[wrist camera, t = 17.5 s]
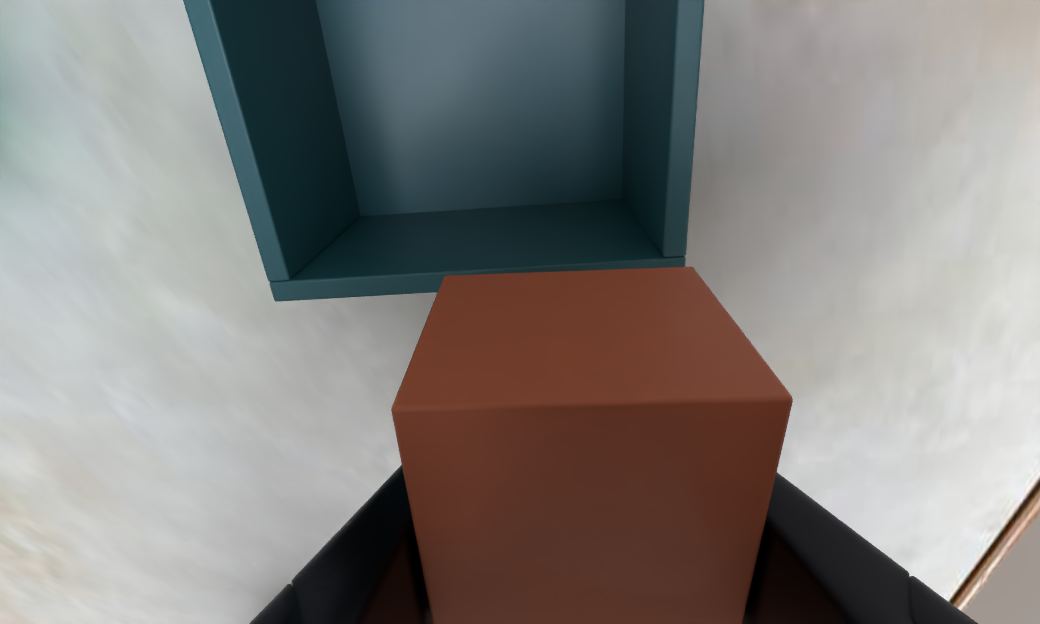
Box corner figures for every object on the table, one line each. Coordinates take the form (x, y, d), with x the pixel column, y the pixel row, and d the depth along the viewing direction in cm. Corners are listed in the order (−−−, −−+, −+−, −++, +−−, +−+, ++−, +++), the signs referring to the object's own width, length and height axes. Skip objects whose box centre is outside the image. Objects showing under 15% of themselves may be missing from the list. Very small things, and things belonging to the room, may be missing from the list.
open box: (684, 278, 13) (723, -245, 9) (274, 302, 14) (126, -183, 10) (635, 210, 20) (644, -119, 15) (353, 228, 20) (285, -86, 16)
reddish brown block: (666, 508, 12) (725, 704, 8) (472, 512, 12) (446, 705, 8) (693, 265, 9) (796, 398, 6) (443, 274, 9) (388, 408, 6)
